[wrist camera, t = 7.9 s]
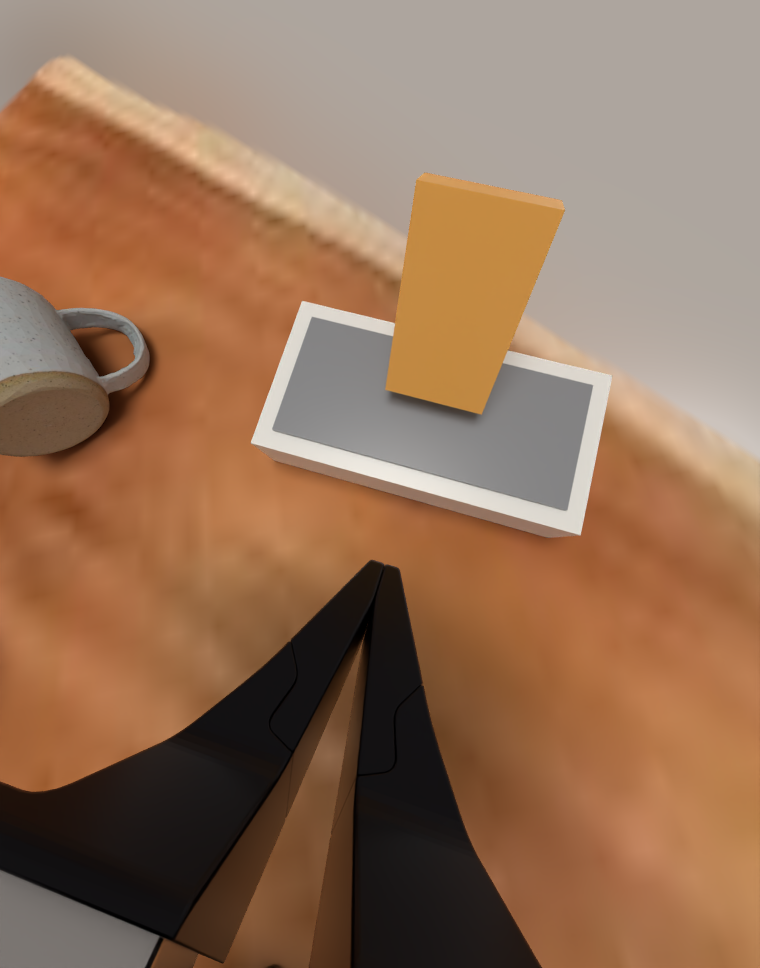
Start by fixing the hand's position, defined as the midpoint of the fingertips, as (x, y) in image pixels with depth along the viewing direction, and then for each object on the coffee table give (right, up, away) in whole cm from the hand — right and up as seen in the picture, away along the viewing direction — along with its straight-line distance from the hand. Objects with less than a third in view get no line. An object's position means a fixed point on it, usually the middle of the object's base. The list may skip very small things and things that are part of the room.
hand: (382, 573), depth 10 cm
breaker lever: (+3, +7, +9) cm, 12 cm away
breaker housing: (+3, +6, +14) cm, 15 cm away
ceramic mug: (-21, +10, +16) cm, 28 cm away
